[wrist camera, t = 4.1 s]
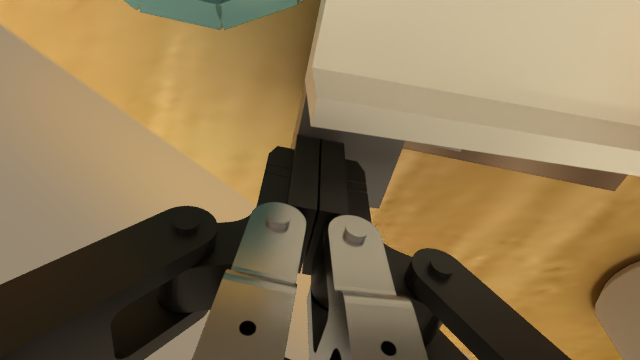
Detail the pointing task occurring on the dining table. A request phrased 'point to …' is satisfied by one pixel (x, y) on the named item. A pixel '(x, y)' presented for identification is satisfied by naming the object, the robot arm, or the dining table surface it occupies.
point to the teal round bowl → (212, 10)
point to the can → (622, 311)
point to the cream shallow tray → (476, 81)
